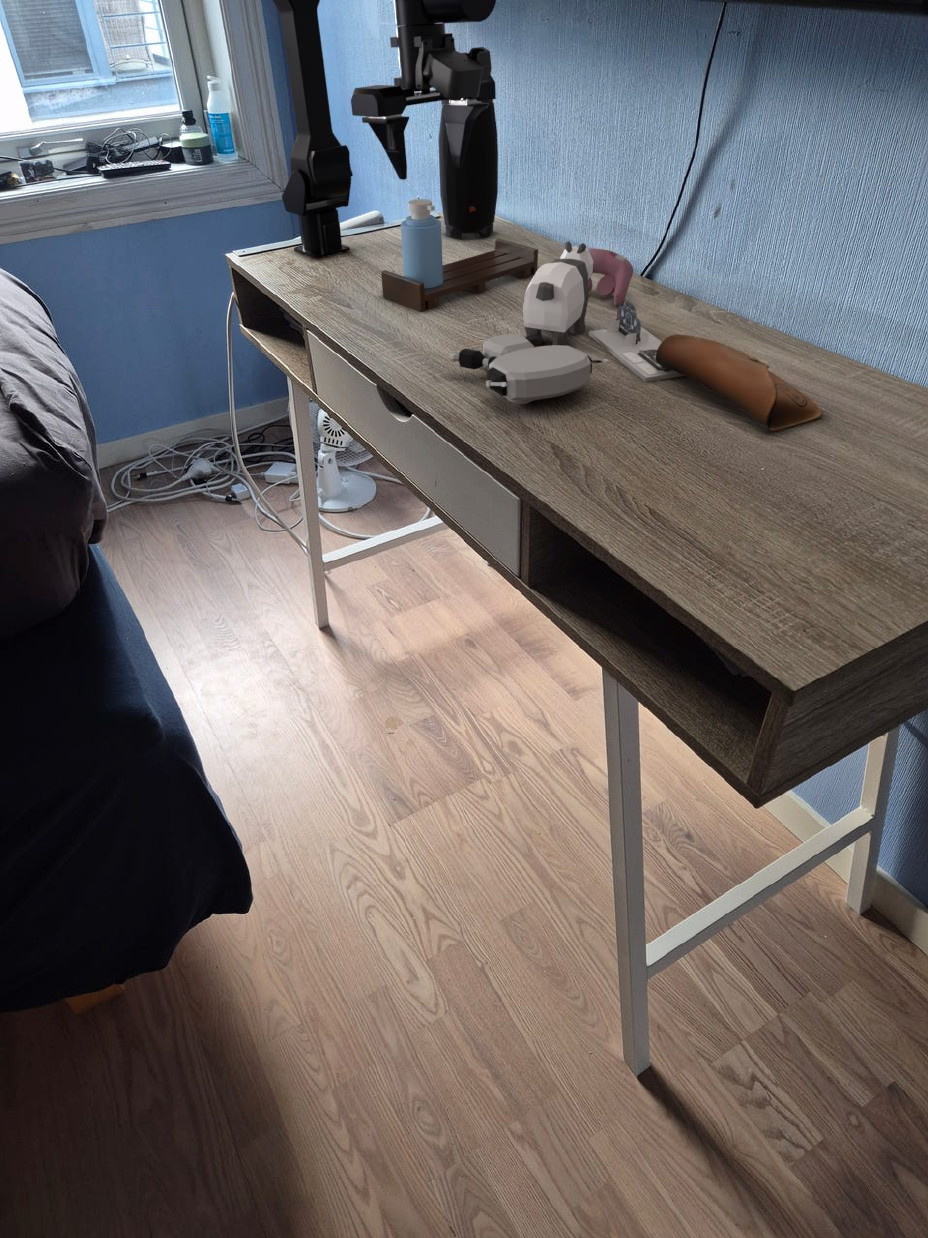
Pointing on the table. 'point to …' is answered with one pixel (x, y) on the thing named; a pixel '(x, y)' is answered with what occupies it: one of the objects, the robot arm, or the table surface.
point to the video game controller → (611, 274)
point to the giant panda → (559, 295)
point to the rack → (463, 275)
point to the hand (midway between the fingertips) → (431, 173)
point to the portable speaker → (470, 177)
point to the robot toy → (528, 367)
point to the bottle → (422, 244)
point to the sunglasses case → (738, 380)
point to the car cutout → (633, 345)
